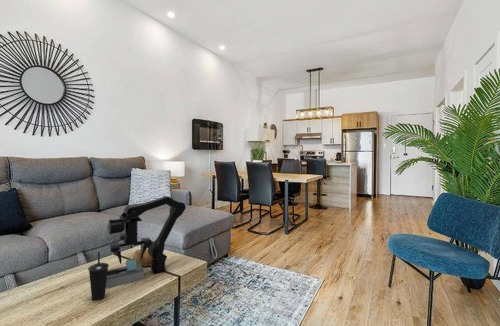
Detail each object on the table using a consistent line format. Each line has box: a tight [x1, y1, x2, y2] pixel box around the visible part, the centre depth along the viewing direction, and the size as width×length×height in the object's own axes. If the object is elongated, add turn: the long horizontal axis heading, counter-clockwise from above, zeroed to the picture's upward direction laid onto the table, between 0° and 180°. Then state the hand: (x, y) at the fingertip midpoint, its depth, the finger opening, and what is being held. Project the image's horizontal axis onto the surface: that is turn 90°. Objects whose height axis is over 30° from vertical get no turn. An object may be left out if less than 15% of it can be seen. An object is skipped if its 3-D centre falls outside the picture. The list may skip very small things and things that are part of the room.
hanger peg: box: [125, 258, 137, 271], centre depth 127 cm, size 4×4×8 cm
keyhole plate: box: [106, 263, 145, 290], centre depth 125 cm, size 18×9×5 cm, turn 126°
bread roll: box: [132, 248, 153, 267], centre depth 145 cm, size 10×15×8 cm, turn 47°
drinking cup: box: [87, 251, 110, 302], centre depth 109 cm, size 8×8×20 cm
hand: (130, 261), depth 127 cm, fingers open, 9 cm apart
